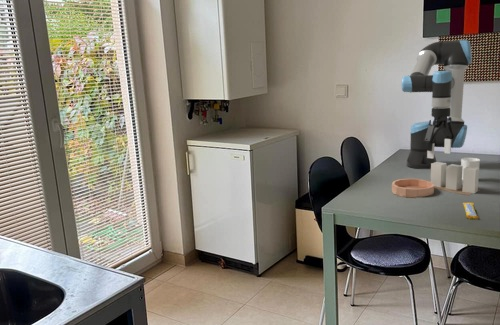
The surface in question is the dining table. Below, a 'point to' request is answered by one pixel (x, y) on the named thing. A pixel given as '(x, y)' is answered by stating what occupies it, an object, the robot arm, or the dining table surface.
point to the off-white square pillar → (470, 179)
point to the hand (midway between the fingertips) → (439, 155)
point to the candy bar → (470, 211)
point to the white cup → (470, 163)
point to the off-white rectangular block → (454, 177)
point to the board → (454, 190)
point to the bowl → (412, 188)
